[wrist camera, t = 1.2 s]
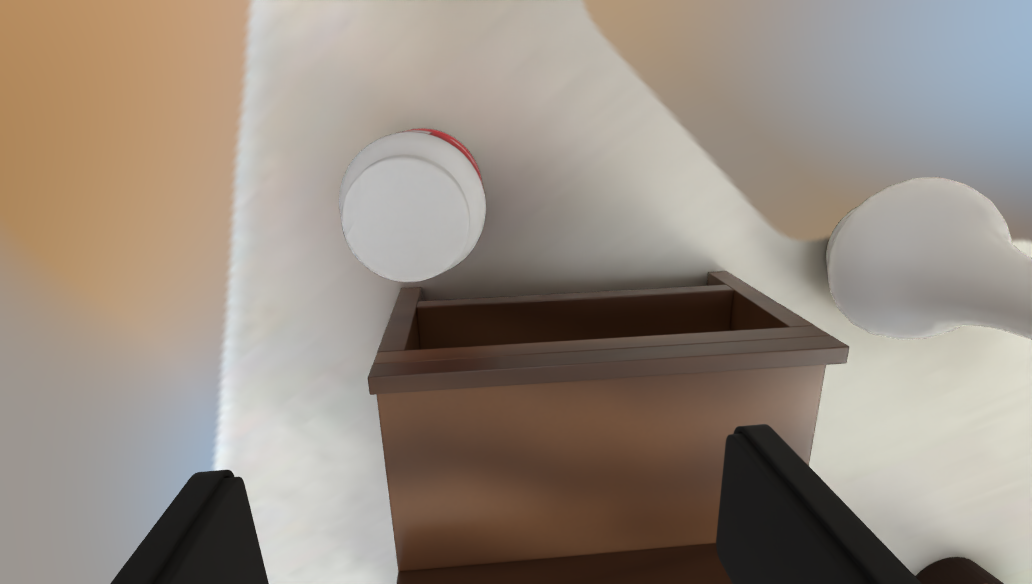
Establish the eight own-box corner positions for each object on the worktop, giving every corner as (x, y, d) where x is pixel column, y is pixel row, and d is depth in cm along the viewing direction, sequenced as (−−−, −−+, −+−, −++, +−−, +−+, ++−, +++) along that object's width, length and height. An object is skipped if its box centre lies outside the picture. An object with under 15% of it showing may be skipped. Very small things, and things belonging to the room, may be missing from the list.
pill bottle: (489, 229, 31) (501, 288, 21) (384, 246, 31) (343, 314, 21) (471, 118, 29) (474, 122, 19) (359, 136, 29) (299, 149, 19)
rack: (400, 288, 32) (358, 400, 20) (726, 271, 33) (881, 365, 21) (418, 459, 36) (391, 645, 23) (710, 437, 37) (832, 601, 25)
